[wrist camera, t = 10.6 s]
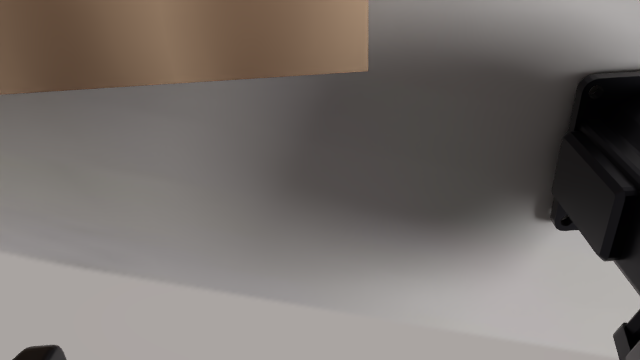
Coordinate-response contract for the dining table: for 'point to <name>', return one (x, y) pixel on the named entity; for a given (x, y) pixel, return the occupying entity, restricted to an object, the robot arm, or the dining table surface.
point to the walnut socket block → (175, 41)
